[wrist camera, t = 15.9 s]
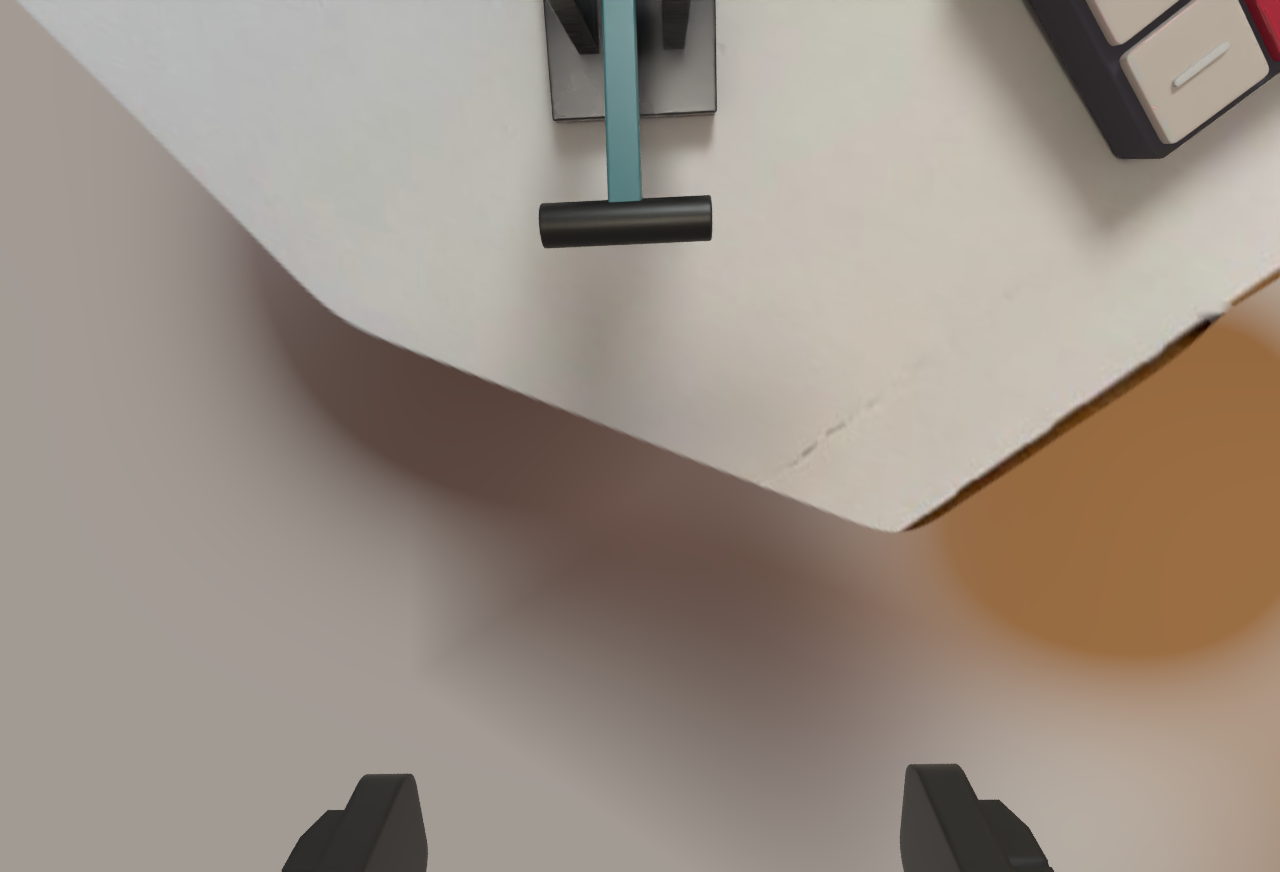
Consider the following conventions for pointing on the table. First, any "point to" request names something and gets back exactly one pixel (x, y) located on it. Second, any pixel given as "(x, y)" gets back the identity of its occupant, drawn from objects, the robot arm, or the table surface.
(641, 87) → the bracket
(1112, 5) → the calculator
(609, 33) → the lever
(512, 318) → the table surface
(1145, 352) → the table surface
